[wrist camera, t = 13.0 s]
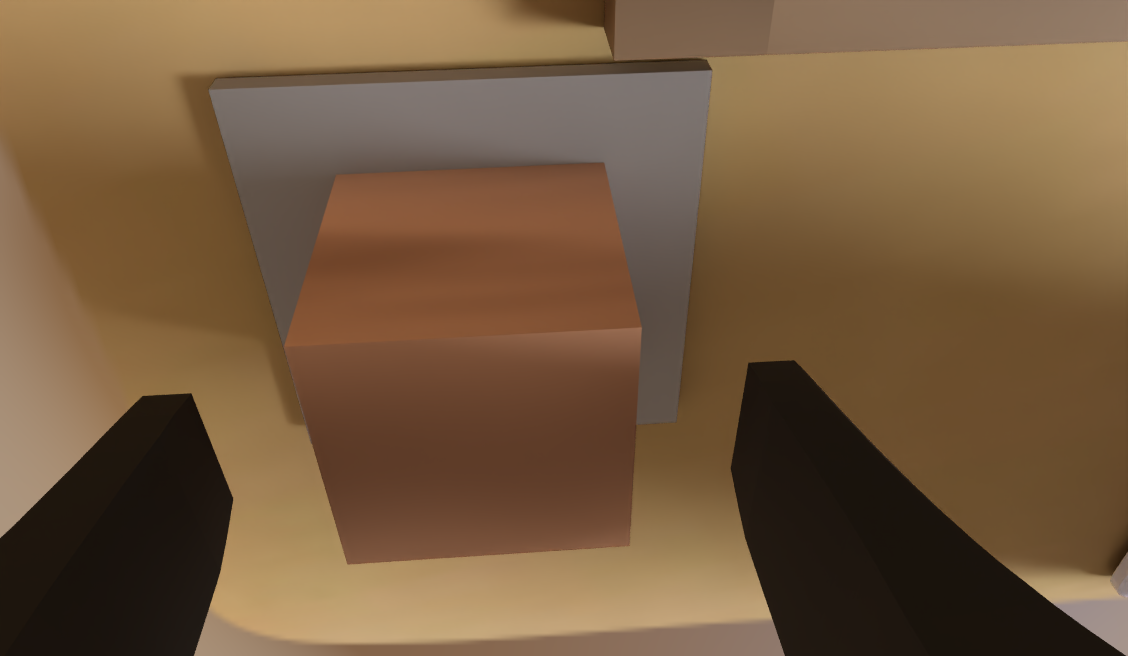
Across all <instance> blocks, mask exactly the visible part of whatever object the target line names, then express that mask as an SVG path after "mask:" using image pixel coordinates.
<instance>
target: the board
mask: <svg viewBox="0 0 1128 656" xmlns="http://www.w3.org/2000/svg"><path fill="white" fill-rule="evenodd" d="M604 30H605V33H606V36H607V39H608V43H609V46H610V49H611V52H612V55H613V59H614V61H618V60H645V59H671V58H698V57H724V56H751V55H778V54H804V53H831V52H857V51H884V50H910V49H937V48H964V47H990V46H1017V45H1043V44H1070V43H1096V42H1123V41H1128V0H605V15H604Z"/></svg>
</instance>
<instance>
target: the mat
mask: <svg viewBox="0 0 1128 656" xmlns="http://www.w3.org/2000/svg"><path fill="white" fill-rule="evenodd" d="M711 78H712V69H711V67H710V65H709V63H708V62H707V60H691V61H665V62H638V63H612V64H586V65H559V66H533V67H506V68H480V69H453V70H427V71H400V72H374V73H347V74H321V75H294V76H268V77H242V78H216V79H215V80H214V82H213V83H212V85H211V86H210V88H209V89H208V90H209V94H210V97H211V101H212V104H213V108H214V111H215V115H216V118H217V121H218V125H219V128H220V132H221V135H222V139H223V142H224V146H225V149H226V152H227V156H228V159H229V163H230V166H231V170H232V173H233V176H234V180H235V183H236V187H237V190H238V194H239V197H240V201H241V204H242V207H243V211H244V214H245V218H246V221H247V225H248V228H249V231H250V235H251V238H252V242H253V245H254V249H255V252H256V256H257V259H258V262H259V266H260V269H261V273H262V276H263V280H264V283H265V286H266V290H267V293H268V297H269V300H270V304H271V307H272V311H273V314H274V317H275V321H276V324H277V328H278V331H279V335H280V338H281V341H282V345H283V348H284V345H285V341H286V338H287V335H288V332H289V328H290V325H291V322H292V318H293V315H294V312H295V308H296V305H297V302H298V299H299V295H300V292H301V289H302V285H303V282H304V279H305V276H306V272H307V269H308V266H309V262H310V259H311V256H312V253H313V249H314V246H315V243H316V239H317V236H318V233H319V230H320V226H321V223H322V220H323V216H324V213H325V210H326V206H327V203H328V200H329V197H330V193H331V190H332V187H333V183H334V180H335V177H336V175H339V174H361V173H383V172H406V171H428V170H450V169H472V168H494V167H516V166H539V165H561V164H583V163H604V164H605V168H606V173H607V177H608V181H609V186H610V190H611V195H612V199H613V203H614V208H615V212H616V217H617V221H618V225H619V230H620V234H621V239H622V243H623V247H624V252H625V256H626V260H627V265H628V269H629V274H630V278H631V282H632V287H633V291H634V296H635V300H636V304H637V309H638V313H639V318H640V322H641V326H642V332H641V350H640V367H639V385H638V403H637V420H636V425H640V424H657V423H674V422H677V412H678V402H679V393H680V383H681V373H682V363H683V353H684V343H685V334H686V324H687V314H688V304H689V294H690V284H691V275H692V265H693V255H694V245H695V235H696V226H697V216H698V206H699V196H700V186H701V176H702V167H703V157H704V147H705V137H706V127H707V118H708V108H709V98H710V88H711ZM284 352H285V349H284ZM285 355H286V353H285ZM286 359H287V356H286ZM287 362H288V359H287ZM288 366H289V363H288ZM289 369H290V366H289ZM290 372H291V370H290ZM291 376H292V373H291ZM292 379H293V377H292ZM293 383H294V380H293ZM294 386H295V383H294ZM295 390H296V387H295ZM296 393H297V390H296ZM297 396H298V394H297ZM298 400H299V397H298ZM299 403H300V400H299ZM300 407H301V404H300ZM301 410H302V407H301ZM302 414H303V411H302ZM303 417H304V414H303ZM304 421H305V417H304ZM305 424H306V421H305ZM306 427H307V424H306ZM307 431H308V428H307ZM308 434H309V431H308ZM309 438H310V435H309ZM310 441H311V438H310ZM311 444H312V441H311Z"/></svg>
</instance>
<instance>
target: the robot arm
mask: <svg viewBox="0 0 1128 656" xmlns="http://www.w3.org/2000/svg"><path fill="white" fill-rule="evenodd" d="M731 472H732V477H733V482H734V487H735V492H736V497H737V502H738V507H739V512H740V516H741V521H742V525H743V530H744V534H745V539H746V542H747V545H748V548H749V551H750V554H751V557H752V560H753V563H754V566H755V569H756V572H757V575H758V578H759V581H760V584H761V587H762V590H763V593H764V596H765V599H766V602H767V605H768V607H769V610H770V613H771V616H772V619H773V622H774V625H775V628H776V630H777V634H778V636H779V639H780V643H781V645H782V648H783V651H784V654H785V656H1126V655H1124V654H1123V653H1121V652H1120V651H1118V650H1117V649H1115V648H1114V647H1112V646H1111V645H1109V644H1108V643H1107V642H1105V641H1104V640H1102V639H1101V638H1099V637H1098V636H1096V635H1095V634H1094V633H1092V632H1090V631H1089V630H1088V629H1086V628H1085V627H1084V626H1082V625H1081V624H1079V623H1078V622H1077V621H1075V620H1074V619H1073V618H1071V617H1070V616H1068V615H1067V614H1066V613H1064V612H1063V611H1062V610H1060V609H1059V608H1057V607H1056V606H1055V605H1054V604H1052V603H1051V602H1050V601H1048V600H1047V599H1046V598H1045V597H1043V596H1042V595H1041V594H1040V593H1038V592H1037V591H1036V590H1034V589H1033V588H1032V587H1031V586H1029V585H1028V584H1027V583H1026V582H1024V581H1023V580H1022V579H1020V578H1019V577H1018V576H1017V575H1015V574H1014V573H1013V572H1012V571H1010V570H1009V569H1008V568H1006V567H1005V566H1004V565H1003V564H1001V563H1000V562H999V561H998V560H996V559H995V558H994V557H993V556H992V555H991V554H989V553H988V552H987V551H986V550H985V549H983V548H982V547H981V546H980V545H979V544H978V543H976V542H975V541H974V540H973V539H972V538H971V537H969V536H968V535H967V534H966V533H965V532H964V531H963V530H962V529H961V528H959V527H958V526H957V525H956V524H955V523H954V522H953V521H952V520H951V519H949V518H948V517H947V516H946V515H945V514H944V513H943V512H942V511H941V510H940V509H938V508H937V507H936V506H935V505H934V504H933V503H932V502H931V501H930V500H929V499H928V498H927V497H926V496H925V495H924V494H923V493H921V492H920V491H919V490H918V489H917V488H916V487H915V486H914V485H913V484H912V483H911V482H910V481H909V480H908V479H907V478H906V477H905V476H904V475H903V474H902V473H901V472H900V471H899V470H898V469H897V468H896V467H895V466H894V465H893V464H892V463H891V462H890V461H889V460H888V459H887V458H886V457H885V456H884V455H883V454H882V453H881V452H880V451H879V450H878V449H877V448H876V447H875V446H874V445H873V444H872V443H871V442H870V441H869V440H868V439H867V438H866V436H865V435H864V434H863V433H862V432H861V431H860V430H859V429H858V428H857V427H856V426H855V425H854V424H853V423H852V422H851V421H850V420H849V418H848V417H847V416H846V415H845V414H844V413H843V412H842V411H841V410H840V409H839V408H838V407H837V406H836V404H835V403H834V402H833V401H832V400H831V399H830V398H829V397H828V396H827V395H826V394H825V392H824V391H823V390H822V389H821V388H820V387H819V386H818V385H817V384H816V383H815V382H814V380H813V379H812V378H811V377H810V376H809V375H808V374H807V373H806V372H805V371H804V370H803V369H802V368H801V366H800V365H798V364H797V363H796V362H795V361H794V360H792V361H774V362H755V363H748V369H747V375H746V381H745V387H744V393H743V399H742V405H741V411H740V417H739V423H738V429H737V435H736V441H735V447H734V453H733V459H732V465H731ZM232 503H233V497H232V494H231V492H230V489H229V487H228V484H227V482H226V479H225V477H224V474H223V472H222V469H221V467H220V464H219V462H218V459H217V457H216V454H215V452H214V449H213V447H212V444H211V442H210V439H209V437H208V434H207V432H206V429H205V427H204V424H203V422H202V419H201V417H200V414H199V412H198V409H197V407H196V404H195V402H194V399H193V397H192V394H191V393H190V394H172V395H154V396H142V397H141V398H140V399H139V400H138V401H137V402H136V403H135V404H134V405H133V406H132V407H131V408H130V409H129V410H128V411H127V412H126V413H125V414H124V415H123V416H122V417H121V418H120V419H119V420H118V421H117V422H116V423H115V424H114V425H113V426H112V427H111V428H110V429H109V430H108V431H107V432H106V433H105V434H104V435H103V436H102V437H101V438H100V439H99V440H98V441H97V443H96V444H95V445H94V446H93V447H92V448H91V449H90V450H89V451H88V452H87V453H86V454H85V455H84V456H83V457H82V458H81V459H80V460H79V461H78V462H77V463H76V464H75V465H74V466H73V467H72V468H71V469H70V470H69V471H68V472H67V473H66V474H65V475H64V476H63V477H62V478H61V479H60V480H59V481H58V482H57V483H56V484H55V485H54V486H53V487H52V488H51V489H50V490H49V491H48V492H47V493H46V494H45V495H44V496H43V497H42V498H41V499H40V500H39V501H38V502H37V503H36V504H35V505H34V506H33V507H32V508H31V509H30V510H29V511H28V512H27V513H26V514H25V515H24V516H23V517H22V518H21V519H20V520H19V521H18V522H17V523H16V524H15V525H14V526H13V527H12V528H11V529H10V530H9V531H7V532H6V534H4V535H3V536H2V537H1V538H0V656H194V653H195V650H196V647H197V644H198V641H199V638H200V635H201V632H202V629H203V626H204V622H205V619H206V616H207V613H208V610H209V607H210V603H211V600H212V597H213V594H214V591H215V587H216V584H217V581H218V577H219V574H220V570H221V565H222V560H223V555H224V550H225V545H226V540H227V534H228V528H229V522H230V516H231V510H232ZM1110 581H1111V583H1112V585H1113V586H1114V588H1115V589H1116V591H1117V592H1118V594H1119V595H1121V596H1124V597H1128V552H1127V554H1126V555H1125V557H1124V558H1123V560H1122V561H1121V563H1120V564H1119V565H1118V567H1117V568H1116V570H1115V571H1114V573H1113V575H1112V577H1111V580H1110Z"/></svg>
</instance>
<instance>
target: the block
mask: <svg viewBox="0 0 1128 656" xmlns="http://www.w3.org/2000/svg"><path fill="white" fill-rule="evenodd" d="M641 332H642V326H641V322H640V318H639V313H638V309H637V304H636V300H635V296H634V291H633V287H632V282H631V278H630V274H629V269H628V265H627V260H626V256H625V252H624V247H623V243H622V239H621V234H620V230H619V225H618V221H617V217H616V212H615V208H614V203H613V199H612V195H611V190H610V186H609V181H608V177H607V173H606V168H605V164H604V163H583V164H561V165H539V166H516V167H494V168H472V169H450V170H428V171H406V172H383V173H361V174H339V175H336V177H335V180H334V183H333V187H332V190H331V193H330V197H329V200H328V203H327V206H326V210H325V213H324V216H323V220H322V223H321V226H320V230H319V233H318V236H317V239H316V243H315V246H314V249H313V253H312V256H311V259H310V262H309V266H308V269H307V272H306V276H305V279H304V282H303V285H302V289H301V292H300V295H299V299H298V302H297V305H296V308H295V312H294V315H293V318H292V322H291V325H290V328H289V332H288V335H287V338H286V341H285V345H284V349H285V353H286V356H287V359H288V363H289V366H290V370H291V373H292V377H293V380H294V383H295V387H296V390H297V394H298V397H299V400H300V404H301V407H302V411H303V414H304V417H305V421H306V424H307V428H308V431H309V435H310V438H311V441H312V445H313V448H314V452H315V455H316V458H317V462H318V465H319V469H320V472H321V476H322V479H323V482H324V486H325V489H326V493H327V496H328V499H329V503H330V506H331V510H332V513H333V516H334V520H335V523H336V527H337V530H338V534H339V537H340V540H341V544H342V547H343V551H344V554H345V557H346V561H347V564H361V563H376V562H391V561H406V560H422V559H437V558H452V557H467V556H482V555H497V554H513V553H528V552H543V551H558V550H573V549H588V548H604V547H619V546H629V544H630V526H631V509H632V491H633V473H634V456H635V438H636V420H637V403H638V385H639V367H640V350H641Z"/></svg>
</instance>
